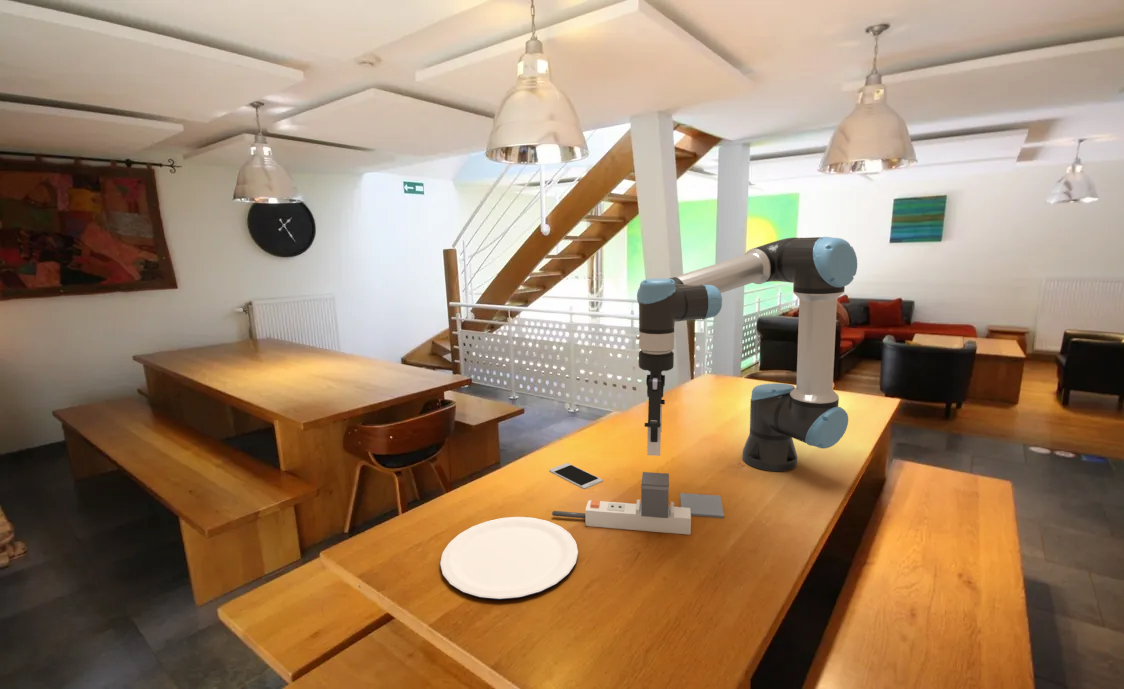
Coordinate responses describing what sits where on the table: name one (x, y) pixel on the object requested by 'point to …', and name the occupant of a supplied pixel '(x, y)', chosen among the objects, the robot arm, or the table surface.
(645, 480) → the grey block
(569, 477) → the smartphone
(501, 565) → the plate
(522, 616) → the table surface
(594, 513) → the power strip
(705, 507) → the mat
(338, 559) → the table surface
